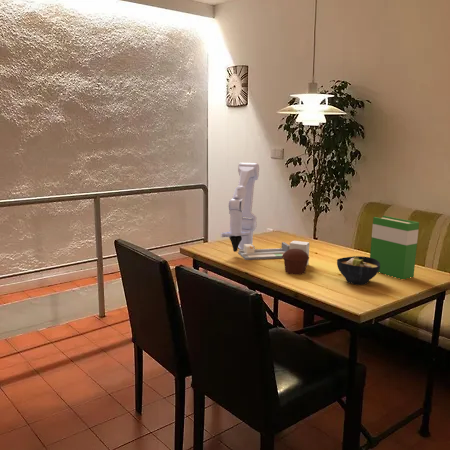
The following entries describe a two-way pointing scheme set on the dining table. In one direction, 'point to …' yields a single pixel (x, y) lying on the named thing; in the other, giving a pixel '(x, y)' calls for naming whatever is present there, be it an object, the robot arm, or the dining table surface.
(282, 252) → the gauge board
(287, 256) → the muffin
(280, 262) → the dining table surface
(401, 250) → the hardback book
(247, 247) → the gauge slider
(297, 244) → the small box
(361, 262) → the bowl
